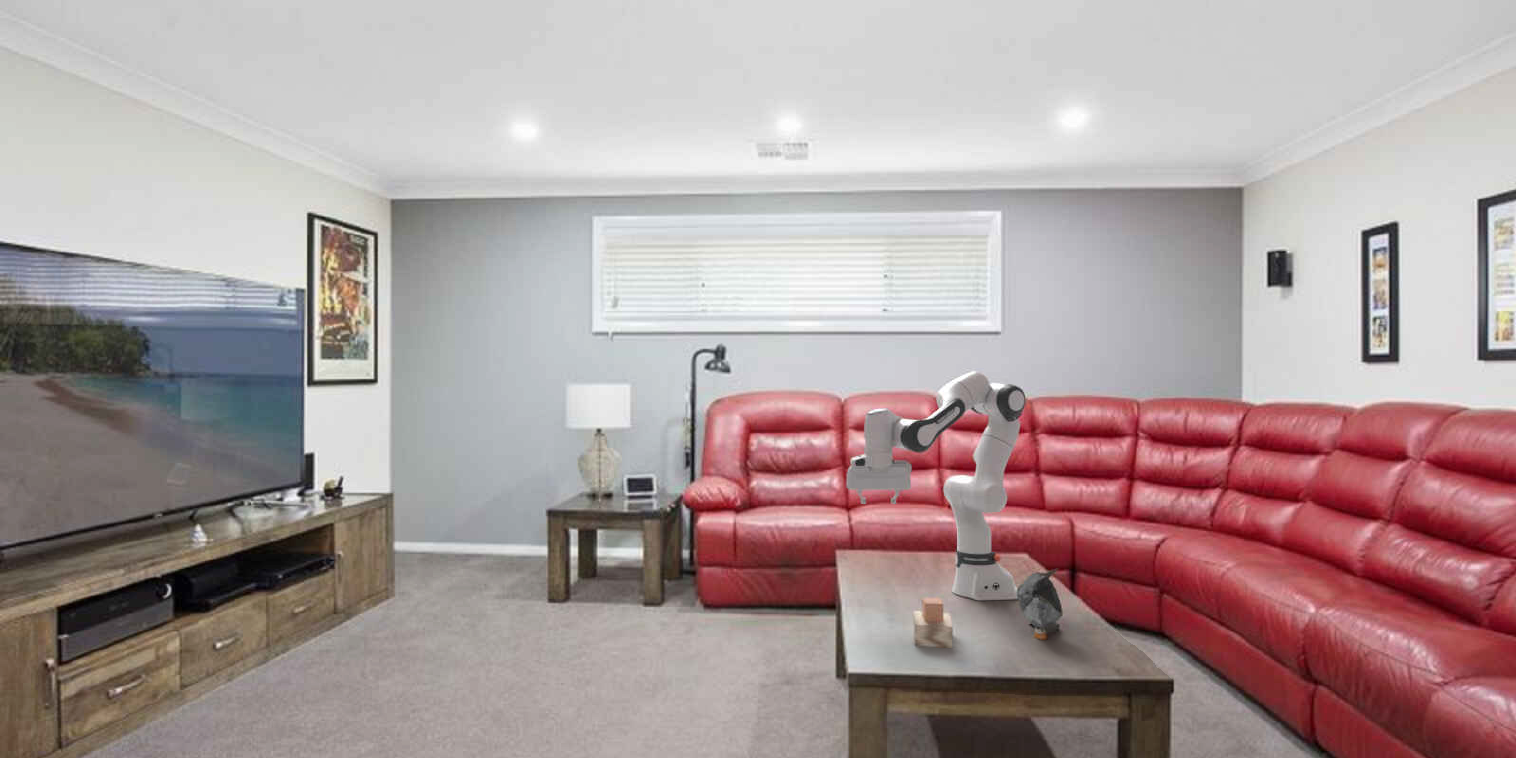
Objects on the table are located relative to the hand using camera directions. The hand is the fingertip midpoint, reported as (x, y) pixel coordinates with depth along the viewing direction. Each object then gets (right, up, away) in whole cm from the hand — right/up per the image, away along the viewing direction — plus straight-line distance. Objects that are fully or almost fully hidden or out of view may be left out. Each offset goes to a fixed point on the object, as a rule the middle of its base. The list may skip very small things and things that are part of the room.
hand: (878, 503), depth 241 cm
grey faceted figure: (+42, -33, -25) cm, 59 cm away
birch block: (+11, -34, -28) cm, 45 cm away
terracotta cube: (+11, -28, -28) cm, 41 cm away
